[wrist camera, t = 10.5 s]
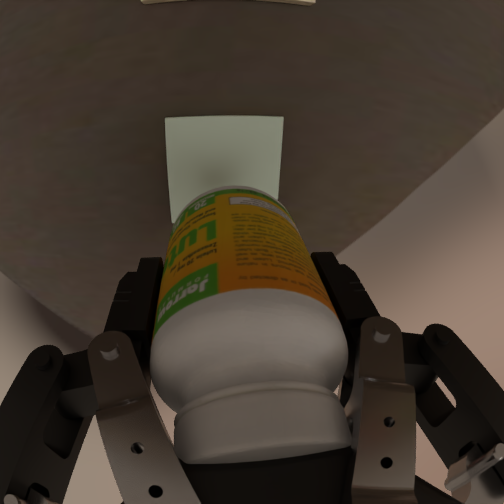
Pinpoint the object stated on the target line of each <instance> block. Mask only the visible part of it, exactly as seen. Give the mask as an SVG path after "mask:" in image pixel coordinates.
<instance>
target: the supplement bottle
mask: <svg viewBox="0 0 504 504" xmlns="http://www.w3.org/2000/svg"><path fill="white" fill-rule="evenodd" d="M347 364H348V346H347V340H346V337H345V335H344V332H343V329H342V326H341V323H340V321H339V319H338V316H337V314H336V311H335V309H334V307H333V305H332V303H331V301H330V298H329V296H328V294H327V292H326V289H325V287H324V285H323V283H322V281H321V279H320V276H319V274H318V272H317V270H316V268H315V266H314V263H313V261H312V259H311V257H310V255H309V253H308V251H307V249H306V247H305V244H304V242H303V240H302V238H301V236H300V234H299V231H298V230H297V227H296V225H295V223H294V221H293V219H292V218H291V216H290V214H289V213H288V211H287V210H286V208H285V207H284V206H283V205H282V204H281V203H280V202H279V201H278V200H276V199H275V198H274V197H272V196H271V195H269V194H267V193H266V192H263V191H261V190H259V189H256V188H252V187H247V186H223V187H218V188H215V189H212V190H209V191H207V192H204V193H202V194H200V195H199V196H197V197H196V198H194V199H193V200H192V201H191V202H189V203H188V204H187V205H186V206H185V207H184V209H183V210H182V211H181V212H180V214H179V215H178V217H177V219H176V221H175V223H174V225H173V228H172V232H171V235H170V239H169V244H168V249H167V254H166V259H165V264H164V269H163V274H162V279H161V285H160V291H159V297H158V303H157V309H156V316H155V323H154V330H153V337H152V343H151V354H150V375H151V379H152V382H153V385H154V387H155V389H156V391H157V393H158V394H159V396H160V397H161V398H162V400H163V401H164V402H165V403H166V404H167V405H168V406H169V407H170V408H171V409H172V410H173V411H175V412H176V413H177V415H176V417H175V420H174V426H175V429H174V451H175V453H176V455H177V457H179V458H180V459H181V460H182V461H183V462H185V463H187V464H219V463H238V462H251V461H263V460H272V459H280V458H288V457H295V456H302V455H308V454H314V453H319V452H325V451H330V450H335V449H340V448H346V447H348V446H350V445H351V442H352V437H351V433H350V430H349V426H348V423H347V419H346V415H345V411H344V408H343V406H342V405H341V404H340V401H339V398H338V397H337V395H336V394H335V393H333V392H334V391H335V389H336V388H337V387H338V385H339V384H340V382H341V380H342V378H343V376H344V374H345V371H346V368H347Z"/></svg>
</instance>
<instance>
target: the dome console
mask: <svg viewBox="0 0 504 504" xmlns="http://www.w3.org/2000/svg"><path fill="white" fill-rule="evenodd" d="M171 1H185V0H141V2H142V3H143V4H152V3H161V2H171ZM258 1H271V2H282V3H291V4H299V5H306V6H311V5H313V4H314V3H315V0H258Z"/></svg>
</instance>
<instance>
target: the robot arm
mask: <svg viewBox="0 0 504 504" xmlns="http://www.w3.org/2000/svg"><path fill="white" fill-rule="evenodd" d="M310 257H311V259H312V261H313V263H314V266H315V268H316V270H317V272H318V274H319V276H320V279H321V281H322V283H323V285H324V287H325V289H326V292H327V294H328V296H329V298H330V301H331V303H332V305H333V307H334V309H335V311H336V314H337V316H338V319H339V321H340V323H341V326H342V329H343V332H344V335H345V337H346V340H347V346H348V364H347V368H346V371H345V374H344V376H343V378H342V380H341V382H340V384H339V390H338V398H339V401H340V404H341V405H342V406H343V408H344V411H345V415H346V419H347V423H348V426H349V430H350V433H351V437H352V442H351V445H350V446H348V447H346V448H340V449H335V450H330V451H325V452H319V453H314V454H308V455H302V456H295V457H288V458H280V459H272V460H263V461H251V462H238V463H219V464H187V463H185V462H183V461H182V460H181V459H180V458H179V457H177V455H176V453H175V451H174V445H173V443H172V441H171V438H170V436H169V434H168V432H167V430H166V427H165V425H164V423H163V420H162V418H161V416H160V414H159V411H158V409H157V406H156V404H155V401H154V399H153V396H152V394H151V391H150V385H151V375H150V354H151V343H152V337H153V330H154V323H155V316H156V309H157V303H158V297H159V291H160V285H161V279H162V274H163V269H164V267H163V261H162V258H161V257H151V258H141V259H140V262H139V266H138V269H137V272H127V274H126V275H125V276H124V277H123V278H122V279H121V280H120V281H119V284H118V287H117V290H116V293H115V296H114V299H113V300H114V302H112V306H111V309H110V312H109V315H108V319H107V322H106V325H105V329H104V332H103V333H101V334H99V335H97V336H96V337H95V338H94V339H93V340H92V341H91V342H90V344H89V346H88V349H87V350H84V351H80V352H76V353H72V354H67V355H63V354H62V352H61V350H60V349H59V348H57V347H56V346H53V345H44V346H41V347H38V348H36V349H35V350H33V351H32V352H31V353H30V354H29V356H28V357H27V359H26V361H25V362H24V364H23V366H22V367H21V369H20V371H19V373H18V374H17V376H16V378H15V380H14V381H13V383H12V385H11V387H10V388H9V391H8V392H7V394H6V396H5V398H4V400H3V402H2V403H1V406H0V504H62V503H63V500H64V497H65V494H66V491H67V487H68V485H69V481H70V478H71V475H72V472H73V470H74V467H75V464H76V461H77V458H78V455H79V452H80V450H81V447H82V444H83V441H84V439H85V436H86V434H87V431H88V428H89V426H90V423H91V421H92V418H93V416H94V415H96V418H97V423H98V426H99V430H100V434H101V437H102V440H103V444H104V447H105V450H106V453H107V457H108V460H109V463H110V465H111V469H112V471H113V474H114V477H115V480H116V483H117V485H118V488H119V491H120V493H121V496H122V498H123V502H122V503H121V504H503V502H504V391H503V389H502V388H501V387H500V386H499V384H498V383H497V382H496V381H495V379H494V378H493V377H492V376H491V375H490V373H489V372H488V371H487V370H486V368H485V367H484V366H483V365H482V364H481V363H480V361H479V360H478V359H477V358H476V357H475V356H474V354H473V353H472V352H471V351H470V350H469V349H468V347H467V346H466V345H465V344H464V343H463V342H462V341H461V339H460V338H459V337H458V336H457V335H456V334H455V333H454V332H453V331H452V330H451V329H450V328H448V327H447V326H444V325H441V324H431V325H429V326H427V327H426V329H425V330H424V332H423V334H413V333H405V332H401V330H400V328H399V327H398V326H397V325H396V324H395V323H394V322H393V321H391V320H390V319H387V318H385V317H381V316H380V314H379V313H378V311H377V309H376V307H375V306H374V304H373V302H372V301H371V299H370V297H369V295H368V293H367V292H366V291H365V288H364V287H363V285H362V284H361V283H360V280H359V278H358V277H357V275H356V273H355V272H354V271H353V270H352V269H350V268H349V267H348V266H346V265H345V264H341V265H340V264H339V263H338V261H337V259H336V257H335V256H334V254H333V253H332V252H312V253H311V256H310ZM438 377H439V378H440V379H441V380H442V382H443V383H444V384H445V386H446V387H447V388H448V390H449V391H450V392H451V393H452V395H453V396H454V398H455V400H456V408H455V407H454V406H453V405H452V404H451V402H450V401H449V399H448V398H447V397H446V395H445V394H444V393H443V391H442V390H441V389H440V387H439V386H438V385H437V383H436V382H435V381H436V380H437V378H438ZM416 421H417V423H418V424H419V426H420V427H421V429H422V430H423V432H424V433H425V435H426V436H427V438H428V439H429V441H430V442H431V444H432V445H433V447H434V448H435V450H436V451H437V453H438V455H439V456H440V458H441V459H442V461H443V462H444V464H445V465H446V467H447V469H448V475H447V478H446V480H445V483H444V485H445V488H446V489H447V490H449V491H451V492H452V497H451V496H450V495H448V494H446V493H444V492H443V491H441V490H439V489H438V488H436V487H434V486H433V485H431V484H429V483H428V482H426V481H425V480H423V479H421V478H420V477H418V476H416V475H415V463H416Z"/></svg>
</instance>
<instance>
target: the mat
mask: <svg viewBox="0 0 504 504" xmlns="http://www.w3.org/2000/svg"><path fill="white" fill-rule="evenodd" d="M283 119H284V117H283V116H260V115H208V116H183V117H166V118H165V134H166V153H167V170H168V184H169V196H170V208H171V219H172V223H175V221H176V219H177V217H178V215H179V214H180V212H181V211H182V210H183V209H184V207H185V206H186V205H187V204H188V203H189V202H191V201H192V200H193V199H194V198H196V197H197V196H199V195H200V194H202V193H204V192H207V191H209V190H212V189H215V188H218V187H223V186H247V187H252V188H256V189H259V190H261V191H263V192H266V193H267V194H269V195H271V196H272V197H274V198H275V199H276V200H278V190H279V177H280V163H281V149H282V134H283Z"/></svg>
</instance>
